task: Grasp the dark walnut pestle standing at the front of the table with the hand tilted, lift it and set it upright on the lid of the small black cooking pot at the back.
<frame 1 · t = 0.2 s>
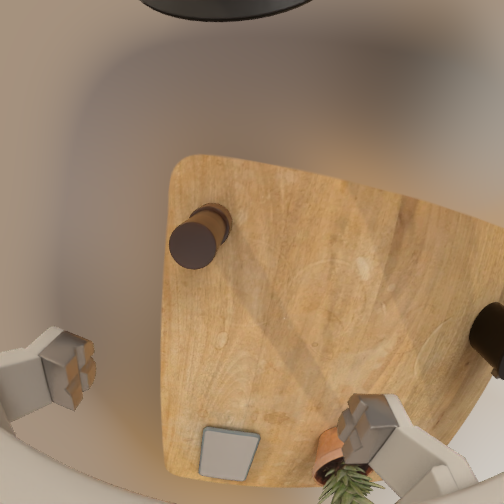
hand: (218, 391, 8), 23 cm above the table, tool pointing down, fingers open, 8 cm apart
smartphone: (226, 454, 40), on the table
potted plant: (335, 436, 39), on the table
black cooking pot: (487, 326, 33), on the table
walnut pestle: (212, 222, 30), on the table
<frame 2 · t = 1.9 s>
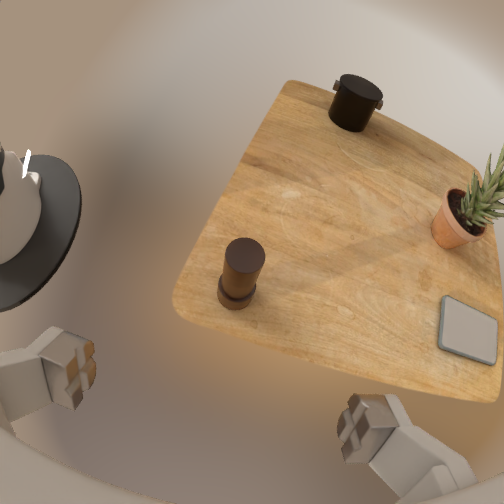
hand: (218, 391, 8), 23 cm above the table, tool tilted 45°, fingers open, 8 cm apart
smartphone: (468, 333, 36), on the table
potted plant: (442, 235, 44), on the table
black cooking pot: (347, 119, 54), on the table
walnut pestle: (234, 293, 34), on the table
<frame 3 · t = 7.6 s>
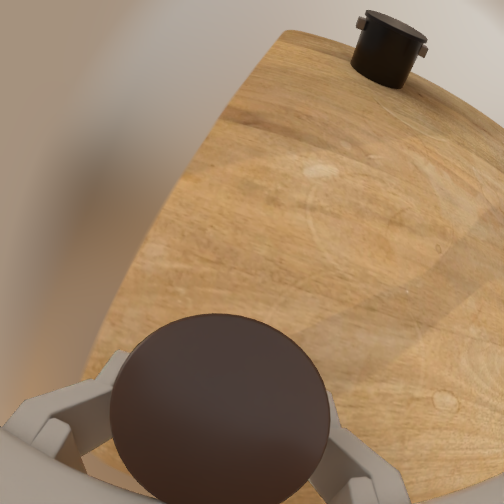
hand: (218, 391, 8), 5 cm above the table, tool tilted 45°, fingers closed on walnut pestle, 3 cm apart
black cooking pot: (377, 73, 33), on the table
walnut pestle: (214, 408, 12), on the table, touching gripper
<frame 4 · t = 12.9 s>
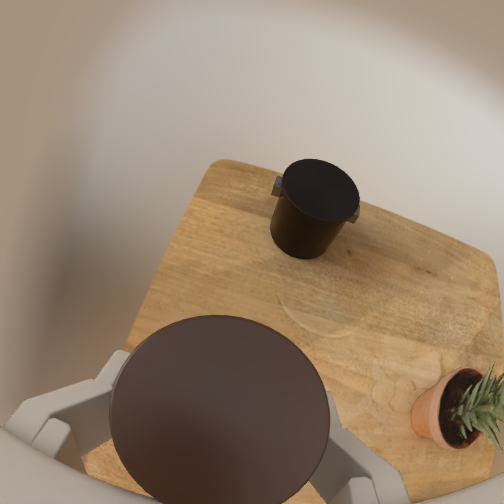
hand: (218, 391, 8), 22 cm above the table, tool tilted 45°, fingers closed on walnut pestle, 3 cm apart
potted plant: (426, 414, 28), on the table
black cooking pot: (301, 231, 38), on the table
walnut pestle: (214, 408, 12), point 16 cm above the table, touching gripper
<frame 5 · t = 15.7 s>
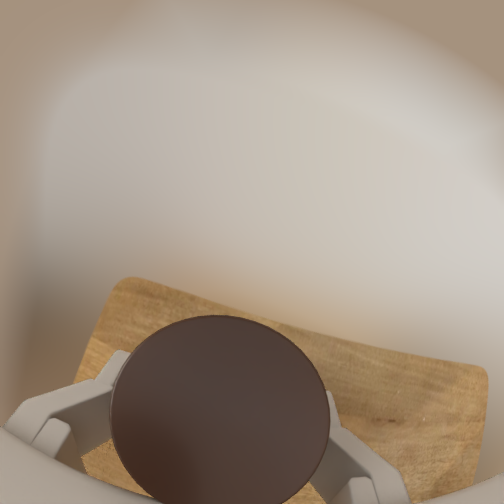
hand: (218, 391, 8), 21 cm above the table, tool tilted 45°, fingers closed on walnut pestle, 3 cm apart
walnut pestle: (214, 408, 12), point 16 cm above the table, touching gripper
when the fingers open (14 cm above the table, at t = 18.2 s): walnut pestle stays where it is, resting on black cooking pot.
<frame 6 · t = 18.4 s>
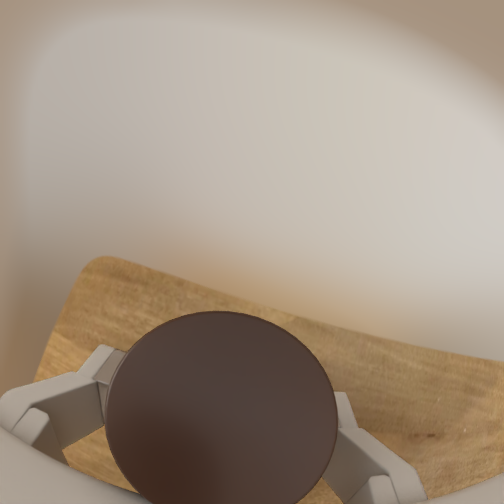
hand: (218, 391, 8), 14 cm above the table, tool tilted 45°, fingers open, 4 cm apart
walnut pestle: (215, 409, 12), point 9 cm above the table, touching black cooking pot
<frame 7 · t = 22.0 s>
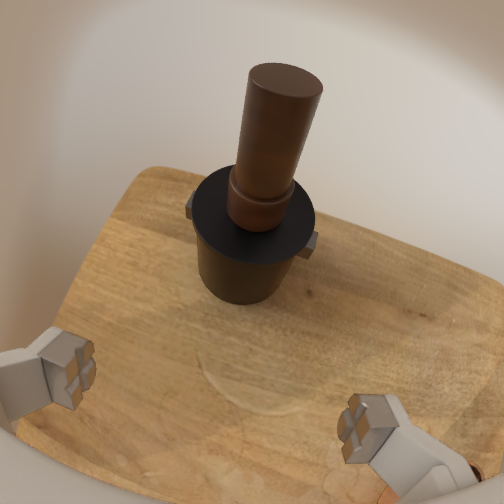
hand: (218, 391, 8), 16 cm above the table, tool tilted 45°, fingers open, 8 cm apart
potted plant: (399, 501, 18), on the table
black cooking pot: (241, 263, 28), on the table
walnut pestle: (255, 207, 20), point 9 cm above the table, touching black cooking pot
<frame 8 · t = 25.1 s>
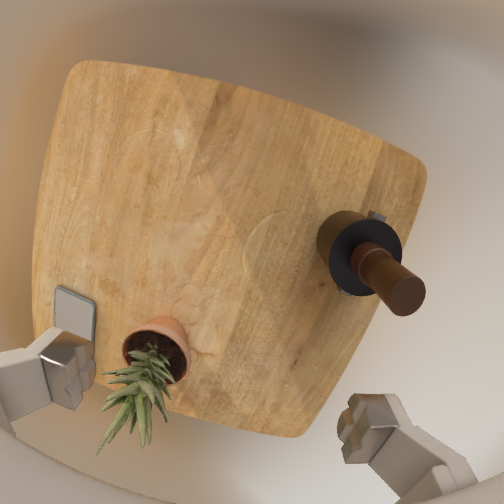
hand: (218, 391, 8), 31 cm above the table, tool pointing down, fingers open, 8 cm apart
smartphone: (75, 328, 44), on the table
potted plant: (166, 332, 43), on the table
black cooking pot: (345, 240, 39), on the table
walnut pestle: (367, 259, 30), point 9 cm above the table, touching black cooking pot
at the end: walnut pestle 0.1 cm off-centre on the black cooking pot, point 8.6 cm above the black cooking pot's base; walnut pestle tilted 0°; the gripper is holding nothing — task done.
